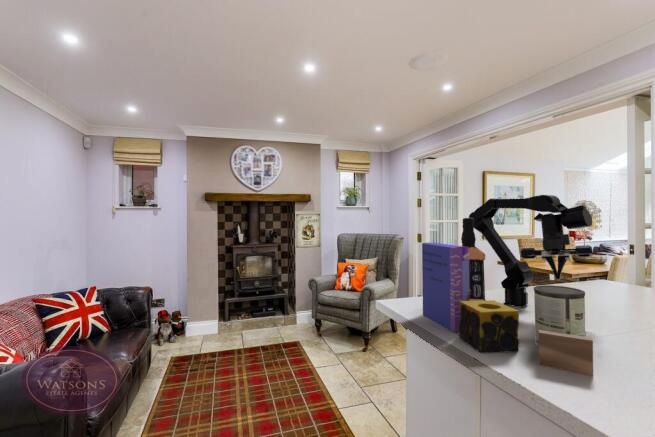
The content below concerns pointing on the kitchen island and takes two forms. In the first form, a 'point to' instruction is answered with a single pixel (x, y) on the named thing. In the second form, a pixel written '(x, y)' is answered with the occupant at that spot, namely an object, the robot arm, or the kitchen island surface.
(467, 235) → the whiskey bottle
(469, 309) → the yellow cube with hole
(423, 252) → the cereal box
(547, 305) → the coffee can
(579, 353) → the wooden block
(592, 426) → the kitchen island surface
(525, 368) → the kitchen island surface
